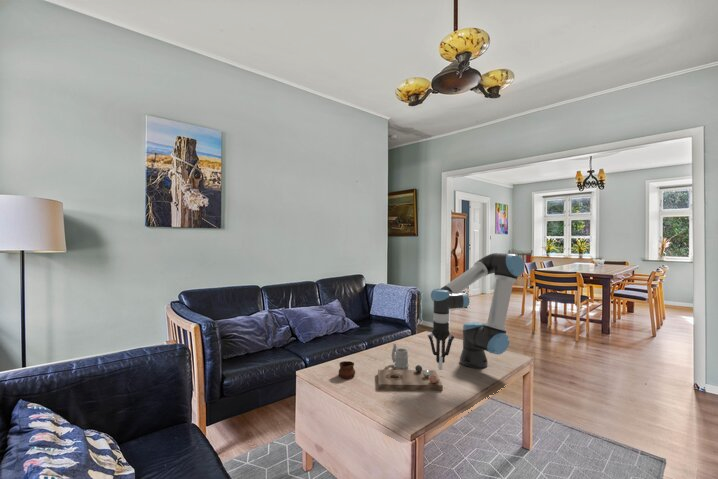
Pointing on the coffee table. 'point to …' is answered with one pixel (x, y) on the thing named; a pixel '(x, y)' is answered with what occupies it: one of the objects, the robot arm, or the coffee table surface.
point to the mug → (400, 358)
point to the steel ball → (426, 373)
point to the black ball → (418, 368)
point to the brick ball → (433, 379)
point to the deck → (407, 380)
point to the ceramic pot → (346, 370)
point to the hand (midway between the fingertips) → (440, 369)
